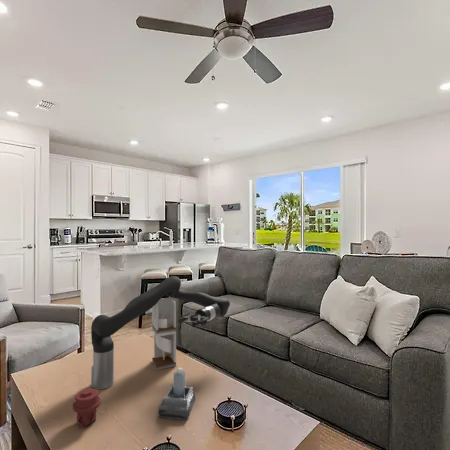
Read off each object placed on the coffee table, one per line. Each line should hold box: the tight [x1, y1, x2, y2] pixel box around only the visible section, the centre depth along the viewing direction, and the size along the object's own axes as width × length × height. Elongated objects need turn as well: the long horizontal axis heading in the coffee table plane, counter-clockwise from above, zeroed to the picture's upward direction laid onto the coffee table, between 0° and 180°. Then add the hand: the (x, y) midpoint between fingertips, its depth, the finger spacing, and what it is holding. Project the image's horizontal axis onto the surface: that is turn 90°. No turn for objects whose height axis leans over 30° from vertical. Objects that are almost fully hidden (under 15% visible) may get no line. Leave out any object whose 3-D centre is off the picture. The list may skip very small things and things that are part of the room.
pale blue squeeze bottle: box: [173, 367, 186, 398], centre depth 132 cm, size 5×5×12 cm
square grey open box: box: [157, 384, 196, 421], centre depth 130 cm, size 12×14×6 cm
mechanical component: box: [72, 388, 101, 428], centre depth 121 cm, size 12×10×10 cm
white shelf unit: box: [151, 297, 177, 371], centre depth 171 cm, size 11×11×35 cm
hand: (185, 323), depth 149 cm, fingers open, 8 cm apart
